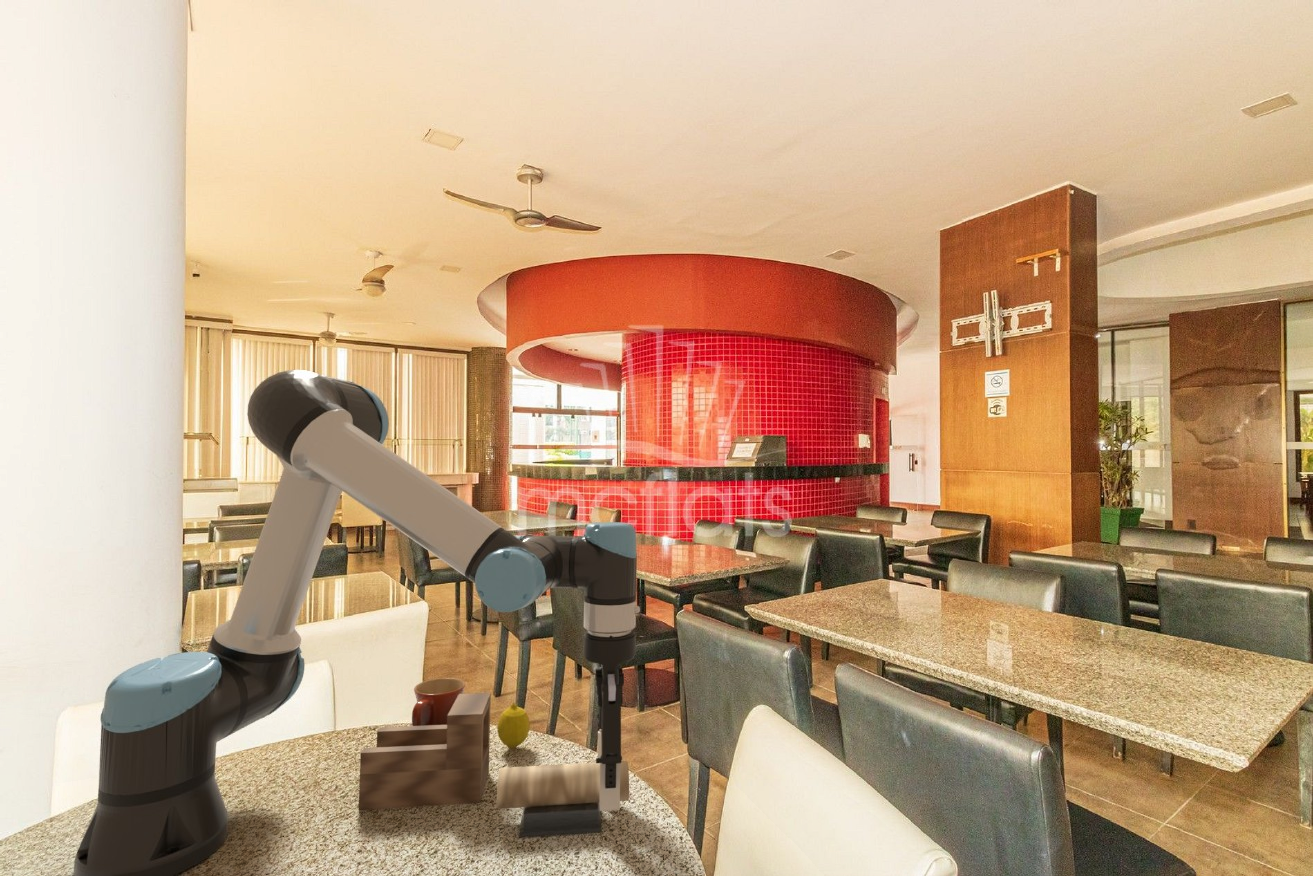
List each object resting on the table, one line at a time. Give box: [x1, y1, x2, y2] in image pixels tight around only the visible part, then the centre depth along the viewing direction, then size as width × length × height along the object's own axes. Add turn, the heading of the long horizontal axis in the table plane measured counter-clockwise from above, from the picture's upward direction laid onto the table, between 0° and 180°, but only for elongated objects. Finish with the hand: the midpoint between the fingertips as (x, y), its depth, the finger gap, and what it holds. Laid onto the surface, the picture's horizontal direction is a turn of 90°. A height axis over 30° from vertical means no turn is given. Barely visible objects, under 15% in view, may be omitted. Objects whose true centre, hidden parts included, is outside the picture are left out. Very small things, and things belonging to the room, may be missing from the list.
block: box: [358, 692, 492, 811], centre depth 94 cm, size 17×9×13 cm, turn 97°
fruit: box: [496, 702, 531, 751], centre depth 108 cm, size 6×6×8 cm
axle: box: [496, 760, 630, 810], centre depth 87 cm, size 18×5×5 cm, turn 97°
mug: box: [411, 677, 466, 726], centre depth 108 cm, size 12×9×10 cm
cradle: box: [518, 803, 603, 839], centre depth 86 cm, size 11×8×3 cm
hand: (607, 791), depth 87 cm, fingers open, 8 cm apart
